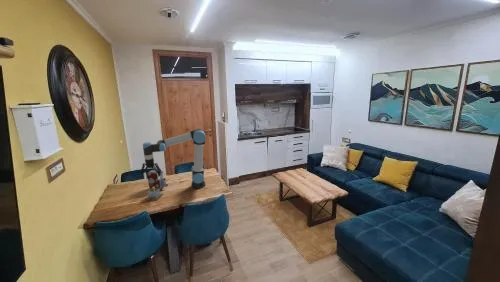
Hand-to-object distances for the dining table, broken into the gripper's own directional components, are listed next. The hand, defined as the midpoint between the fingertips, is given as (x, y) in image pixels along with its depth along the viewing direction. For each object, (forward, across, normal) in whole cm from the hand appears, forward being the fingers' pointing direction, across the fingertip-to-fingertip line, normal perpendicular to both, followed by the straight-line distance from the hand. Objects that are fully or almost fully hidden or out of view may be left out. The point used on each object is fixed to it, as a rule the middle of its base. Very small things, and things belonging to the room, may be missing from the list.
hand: (152, 179), depth 210 cm
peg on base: (+19, 0, 0) cm, 19 cm away
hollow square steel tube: (+18, 0, 0) cm, 18 cm away
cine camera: (+20, +5, -19) cm, 28 cm away
